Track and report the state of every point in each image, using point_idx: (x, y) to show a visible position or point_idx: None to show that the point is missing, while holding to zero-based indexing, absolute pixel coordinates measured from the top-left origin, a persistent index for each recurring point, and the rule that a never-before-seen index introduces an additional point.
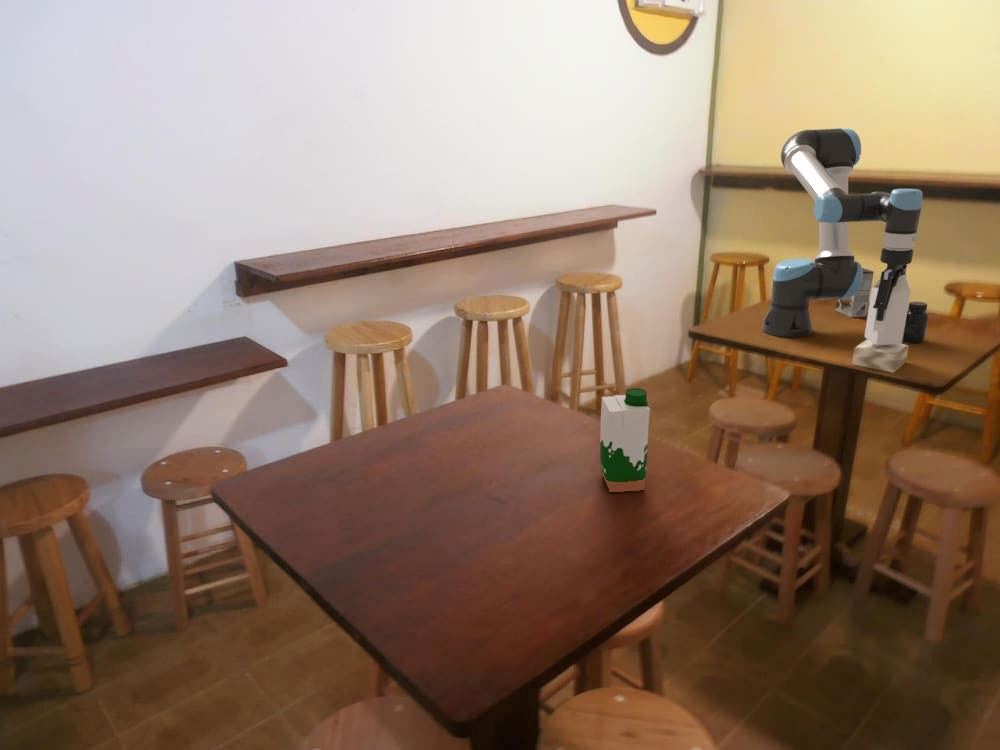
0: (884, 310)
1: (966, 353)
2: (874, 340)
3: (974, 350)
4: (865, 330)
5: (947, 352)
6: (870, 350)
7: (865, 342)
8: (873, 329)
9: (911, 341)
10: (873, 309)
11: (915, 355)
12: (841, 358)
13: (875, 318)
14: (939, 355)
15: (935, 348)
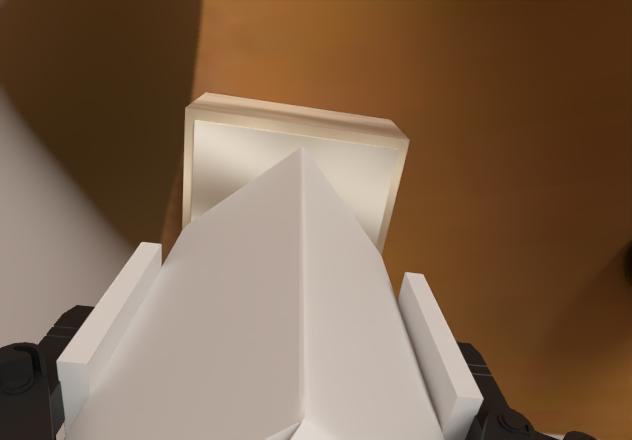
0: (68, 410)
1: (544, 408)
2: (197, 221)
3: (587, 421)
4: (300, 160)
5: (538, 366)
6: (188, 190)
7: (307, 147)
8: (139, 248)
9: (629, 263)
10: (222, 285)
11: (461, 290)
12: (272, 25)
13: (104, 298)
14: (492, 351)
15: (578, 333)
